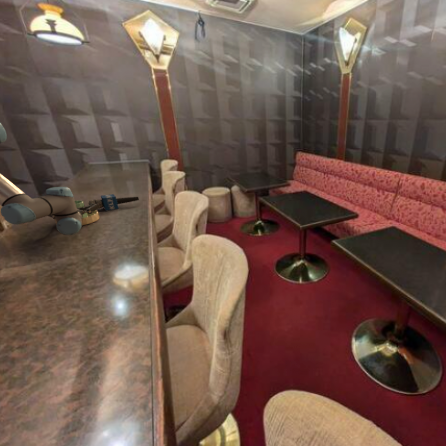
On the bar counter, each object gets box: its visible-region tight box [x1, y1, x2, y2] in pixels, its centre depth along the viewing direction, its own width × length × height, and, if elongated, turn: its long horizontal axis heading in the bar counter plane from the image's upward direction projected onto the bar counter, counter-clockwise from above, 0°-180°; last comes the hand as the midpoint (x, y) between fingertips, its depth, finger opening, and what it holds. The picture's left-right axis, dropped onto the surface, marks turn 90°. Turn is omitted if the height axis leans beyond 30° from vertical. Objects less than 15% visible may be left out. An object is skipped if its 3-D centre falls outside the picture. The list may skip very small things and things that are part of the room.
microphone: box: [90, 193, 140, 212], centre depth 151 cm, size 8×8×25 cm
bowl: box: [54, 209, 101, 226], centre depth 129 cm, size 17×17×4 cm
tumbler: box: [75, 199, 88, 218], centre depth 128 cm, size 8×8×10 cm
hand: (74, 205), depth 128 cm, fingers open, 13 cm apart
